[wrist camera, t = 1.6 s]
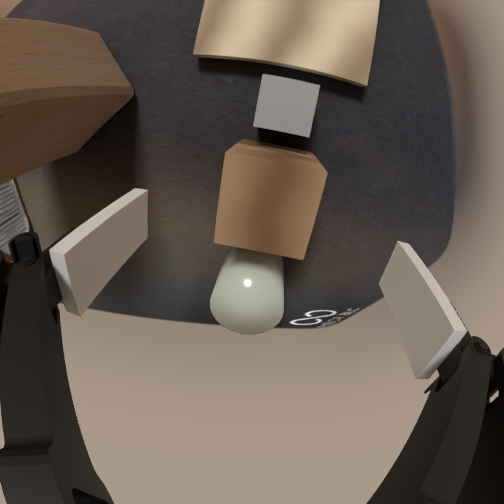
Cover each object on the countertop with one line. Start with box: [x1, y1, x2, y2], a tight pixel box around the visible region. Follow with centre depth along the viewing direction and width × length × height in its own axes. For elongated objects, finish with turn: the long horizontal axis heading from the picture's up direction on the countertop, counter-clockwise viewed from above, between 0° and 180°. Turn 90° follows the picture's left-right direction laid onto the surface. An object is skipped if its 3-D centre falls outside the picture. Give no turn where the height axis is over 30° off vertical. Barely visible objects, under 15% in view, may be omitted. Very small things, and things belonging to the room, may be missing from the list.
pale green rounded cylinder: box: [210, 246, 284, 334], centre depth 25 cm, size 6×6×7 cm
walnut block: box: [214, 139, 327, 260], centre depth 20 cm, size 6×6×8 cm
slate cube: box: [253, 74, 320, 137], centre depth 18 cm, size 4×4×4 cm
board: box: [193, 0, 380, 87], centre depth 15 cm, size 14×12×2 cm
